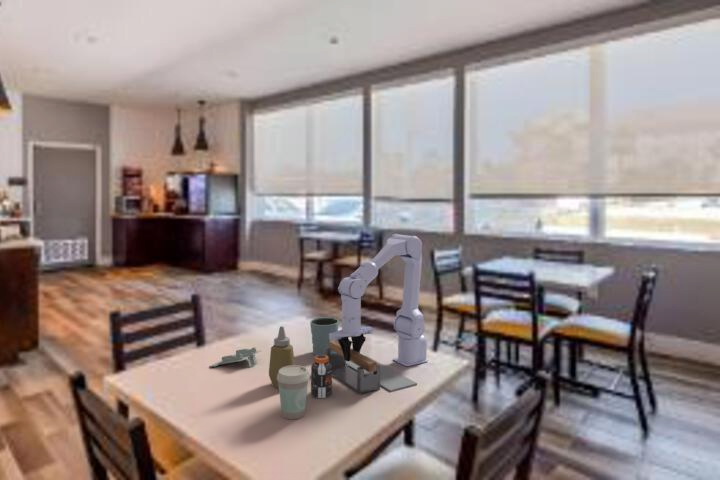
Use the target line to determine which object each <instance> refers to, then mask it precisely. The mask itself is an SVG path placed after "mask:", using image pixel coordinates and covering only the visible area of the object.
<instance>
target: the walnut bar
mask: <svg viewBox="0 0 720 480" xmlns="http://www.w3.org/2000/svg"><path fill="white" fill-rule="evenodd" d="M329 348H330V349H331V350H333V351H334V352H336V353H338V354H339V355H341V356H343V357H344V355H343V351H342V348H341V346H340V344H339V342H338V341H337V340H335V341H329ZM366 356H367V355H364V354H362V353H361V352H360V353H359V352H357V351H355V350H353V348H352V347H351V348H350V361H351V362H353V363H354V364H356V365H358V366H360V367H362V368H364V369H365V370H366V371H368V372H372V371H376V362H375V361H373V360H371V359H370V358H371V357H370V358H368V357H369V356H368V357H366Z"/></svg>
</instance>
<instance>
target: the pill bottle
mask: <svg viewBox="0 0 720 480" xmlns="http://www.w3.org/2000/svg"><path fill="white" fill-rule="evenodd" d="M310 369H311V370H310V372H311V373H310V375H311V376H310V394H311V396H312V397H313V398H316V399H326V398H329V397H331V395H333V391H332V390H333V389H332V388H333V385H332V384H333V383H332V382H333V375H332V365H331V364H330V363H329V357H328V356H327V355H317V356H315V355H314V362H313V363H312V364H311V367H310Z"/></svg>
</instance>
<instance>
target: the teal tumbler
mask: <svg viewBox="0 0 720 480" xmlns="http://www.w3.org/2000/svg"><path fill="white" fill-rule="evenodd" d="M309 323H310V333H311V343H312V353H313V355H314V357H315V356H317V355H325V348H327V347H328V348H329V341H331V340H329V333H334V332H337V331H339V324H340V321H339V319H337V318H334V317H330V316H329V317H327V316H326V317H325V316H324V317H316V318H313V319H312V320H310V322H309ZM337 341H338V340H337ZM334 353H336V352H334V351H333V350H331V354H334Z"/></svg>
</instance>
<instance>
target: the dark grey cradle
mask: <svg viewBox="0 0 720 480" xmlns="http://www.w3.org/2000/svg"><path fill="white" fill-rule="evenodd" d="M325 355H327V356H328V357H329V363H330V364H331V365H332V377H334V378H335V379H337V380H339V381H340V382H341V383H343V384H345V385H346V386H347V387H348V388H350V389H351V390H353V391H355V392H356V393H357V394H359V395H363V394H366V393H371V392H375V391H376V392H377V391H379V390H381V386H380V364H378V363H376V371H373V372H371V373H367V374H364V368H362V367H357V371H356V370H354V369H352V368H351V367H349V366H347V365H346V360H344V357H343V356H341V355H339V354H338V353H334V354H331V349H330V348H328V347H327V348H325Z"/></svg>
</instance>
